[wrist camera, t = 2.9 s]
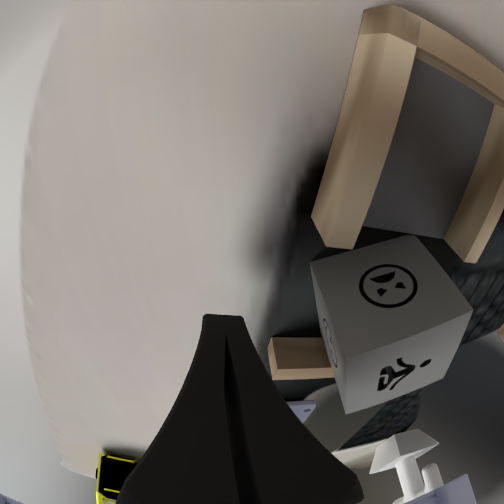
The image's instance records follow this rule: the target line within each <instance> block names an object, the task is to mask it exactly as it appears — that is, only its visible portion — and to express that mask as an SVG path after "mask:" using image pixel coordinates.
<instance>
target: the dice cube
mask: <svg viewBox="0 0 504 504" xmlns="http://www.w3.org/2000/svg"><path fill="white" fill-rule="evenodd" d="M310 268H311V274H312V280H313V286H314V292H315V298H316V305H317V311H318V318H319V325H320V332H321V336H322V339H323V342H324V345H325V348H326V351H327V355H328V358H329V361H330V364H331V367H332V371H333V374H334V377H335V380H336V384H337V387H338V390H339V393H340V397H341V400H342V404H343V407H344V411H345V414H349V413H352V412H356V411H359V410H362V409H365V408H368V407H371V406H374V405H377V404H380V403H382V402H386V401H388V400H391V399H394V398H396V397H399V396H402V395H404V394H407V393H409V392H412V391H414V390H417V389H419V388H421V387H424V386H426V385H428V384H431V383H433V382H435V381H437V380H440V379H442V378H443V377H444V375H445V373H446V371H447V369H448V367H449V365H450V363H451V361H452V359H453V357H454V355H455V353H456V350H457V348H458V346H459V344H460V342H461V339H462V337H463V335H464V332H465V330H466V327H467V325H468V322H469V320H470V317H471V315H472V312H473V309H472V307H471V306H470V304H469V303H468V302H467V300H466V299H465V297H464V296H463V295H462V293H461V292H460V291H459V289H458V288H457V287H456V285H455V284H454V283H453V281H452V280H451V279H450V277H449V276H448V275H447V273H446V272H445V271H444V270H443V268H442V267H441V266H440V265H439V263H438V262H437V261H436V260H435V258H434V257H433V256H432V255H431V253H430V252H429V251H428V250H427V249H426V247H425V246H424V245H423V244H422V243H421V242H420V240H419V239H418V238H417V237H416V236H415V235H414V234H408V235H404V236H401V237H397V238H394V239H390V240H387V241H383V242H380V243H376V244H373V245H369V246H366V247H362V248H359V249H355V250H352V251H348V252H344V253H341V254H337V255H334V256H330V257H326V258H323V259H319V260H315V261H312V262H310Z"/></svg>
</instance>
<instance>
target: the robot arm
mask: <svg viewBox="0 0 504 504" xmlns="http://www.w3.org/2000/svg"><path fill="white" fill-rule="evenodd" d="M316 406H317V405H316V402H315V401H313V400H309V401H308V400H307V401H291V402H286V401H285V400H284V398H283V397H282V395H281V394H280V392H279V391H278V389H277V387H276V386H275V384H274V383H273V381H272V379H271V378H270V376H269V374H268V372H267V371H266V369H265V367H264V365H263V363H262V361H261V359H260V357H259V355H258V353H257V351H256V349H255V347H254V345H253V342H252V340H251V338H250V335H249V333H248V330H247V327H246V325H245V322H244V318H243V317H242V316H233V315H217V314H205V315H204V316H203V320H202V330H201V335H200V339H199V342H198V346H197V349H196V352H195V355H194V358H193V361H192V364H191V367H190V369H189V372H188V374H187V376H186V379H185V381H184V384H183V386H182V388H181V390H180V393H179V395H178V397H177V399H176V401H175V403H174V405H173V407H172V409H171V411H170V413H169V414H168V416H167V418H166V420H165V422H164V423H163V425H162V427H161V429H160V430H159V432H158V434H157V435H156V437H155V438H154V440H153V442H152V443H151V445H150V446H149V448H148V449H147V451H146V452H145V454H144V455H143V457H142V458H141V460H140V461H139V462H138V464H137V465H136V466H135V468H134V469H133V470H132V472H131V473H130V474H129V476H128V477H127V478H126V480H125V481H124V484H123V486H122V488H121V490H120V492H119V495H118V497H117V500H116V504H356V503H358V502H361V501H362V500H363V499H364V495H363V491H362V487H361V485H360V482H359V480H358V478H357V475H356V474H355V473H354V472H353V471H351V470H350V469H349V468H348V467H346V466H345V465H344V464H343V463H342V462H340V461H339V460H338V459H337V458H336V457H335V456H334V455H332V454H331V453H330V452H329V451H328V450H327V449H326V448H325V447H324V446H323V445H322V444H321V443H320V442H319V441H318V440H317V439H316V438H315V437H314V436H313V434H312V433H311V432H310V431H309V430H308V429H307V428H306V427H305V426H304V424H303V423H304V421H305V420H306V419H307V418H308V416H309V415H310V414H311V413H312V411H313V410H314V409H315V407H316ZM0 504H23V503H20V502H18V501H16V500H13V499H11V498H9V497H7V496H4V495H2V494H0ZM403 504H477V503H476V500H475V496H474V493H473V490H472V487H471V484H470V481H469V478H468V475H467V474H465V475H463V476H461V477H459V478H457V479H455V480H453V481H451V482H449V483H447V484H446V485H443V486H441V487H439V488H437V489H435V490H433V491H430V492H428V493H426V494H424V495H421V496H419V497H417V498H415V499H413V500H411V501H408V502H406V503H403Z"/></svg>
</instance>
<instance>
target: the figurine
mask: <svg viewBox="0 0 504 504" xmlns="http://www.w3.org/2000/svg"><path fill="white" fill-rule="evenodd" d="M438 444H439V443H438V442H437V441H436V440H434V439H433V438H431V437H429V436H428V435H426V434H425V433H424V432H422V431H421V430H419V429H418V428H417V429H413V430H410V431H406V432H401V433H397V434H394V435H393V436H391V437H390V438H388V439H387V440H386V441H384V442H383V443H381V444H380V445H379V446H377V448H376V451H375V455H374V459H373V462H372V466H371V470H370V473H369V474H373V473H376V472H380V471H384V470H387V469H391V468H394V467H396V469H397V473H398V476H399V480H400V483H401V486H402V490H403V493H404V497H401V498H399V499H397V500H396V501H394V502H393V504H403V503H406V502H408V501H411V500H413V499H415V498H417V497H419V496H421V495H424V494H426V493H428V492H430V491H433V490H435V489H437V488H439V487H441V486H443V485H444V484H443V481H442V478H441V475H440V472H439V469H438V466H437V465H436V464H429V465H427V466H426V467H424V468H423V469H422V474H423V478H424V482H425V487H424V485H423V481H422V478H421V475H420V472H419V469H418V466H417V463H416V460H415V459H416V458H417V457H419V456H421V455H422V454H424V453H426V452H427V451H429V450H430V449H432V448H433V447H435V446H436V445H438Z"/></svg>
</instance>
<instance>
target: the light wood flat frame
mask: <svg viewBox="0 0 504 504" xmlns="http://www.w3.org/2000/svg"><path fill="white" fill-rule="evenodd" d="M503 209H504V73H503V72H502V71H501V70H500V69H498V68H497V67H496V66H494V65H493V64H492V63H491V62H489V61H488V60H487V59H485V58H484V57H483V56H481V55H480V54H479V53H477V52H476V51H474V50H473V49H471V48H470V47H469V46H467V45H466V44H464V43H463V42H461V41H460V40H458V39H457V38H455V37H453V36H452V35H450V34H449V33H447V32H445V31H444V30H442V29H440V28H439V27H437V26H435V25H434V24H432V23H430V22H428V21H427V20H425V19H423V18H421V17H419V16H417V15H415V14H413V13H412V12H410V11H408V10H406V9H404V8H402V7H399V6H397V5H395V4H391V5H385V6H380V7H376V8H371V9H366V10H364V12H363V17H362V22H361V26H360V31H359V36H358V40H357V45H356V49H355V53H354V58H353V62H352V66H351V70H350V75H349V79H348V83H347V87H346V91H345V95H344V99H343V103H342V107H341V111H340V115H339V119H338V122H337V126H336V130H335V134H334V137H333V141H332V145H331V148H330V152H329V156H328V159H327V163H326V167H325V170H324V174H323V177H322V181H321V184H320V188H319V191H318V194H317V198H316V201H315V205H314V208H313V211H312V215H311V218H312V220H313V222H314V224H315V226H316V228H317V230H318V232H319V233H320V235H321V237H322V239H323V241H324V243H325V245H326V247H334V248H344V249H353V247H354V245H355V242H356V240H357V237H358V235H359V232H360V230H361V227H362V226H364V227H371V228H378V229H384V230H391V231H397V232H403V233H409V234H416V235H422V236H428V237H433V238H439V239H444V240H445V241H446V243H447V244H448V245H449V246H450V247H451V248H452V249H453V250H454V251H455V253H456V254H457V255H458V256H459V257H460V258H461V259H462V261H463V262H469V263H476V262H477V260H478V259H479V257H480V255H481V253H482V251H483V250H484V248H485V246H486V244H487V242H488V240H489V238H490V236H491V234H492V232H493V230H494V228H495V226H496V224H497V222H498V220H499V218H500V216H501V213H502V211H503ZM497 333H498V334H499V336H500V337H501V339H502V340H503V342H504V323H503V325H502V326H501V327H500V329H499V330H498V331H497ZM268 355H269V361H270V367H271V373H272V379H273V380H293V379H316V378H332V377H334V374H333V371H332V367H331V364H330V361H329V358H328V355H327V351H326V348H325V345H324V342H323V339H322V338H289V337H271V340H270V343H269V346H268Z"/></svg>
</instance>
